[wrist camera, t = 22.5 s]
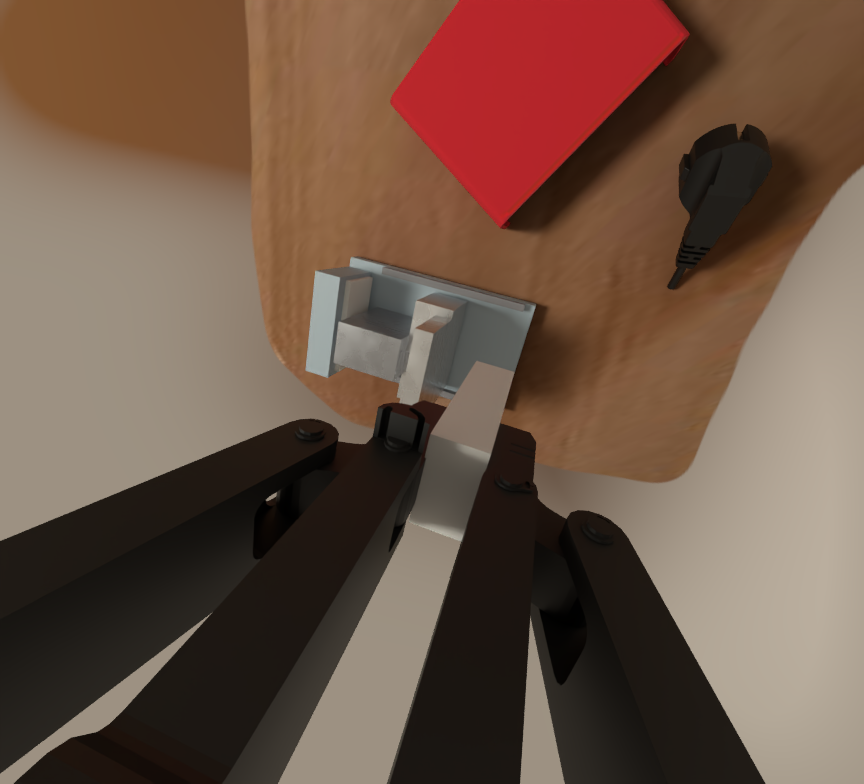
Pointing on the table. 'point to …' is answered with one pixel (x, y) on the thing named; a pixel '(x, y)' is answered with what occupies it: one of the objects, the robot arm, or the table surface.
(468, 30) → the red device housing
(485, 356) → the vise base
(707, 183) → the power plug
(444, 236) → the table surface
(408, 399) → the sliding jaw
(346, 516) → the robot arm
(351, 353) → the steel block
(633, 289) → the table surface
